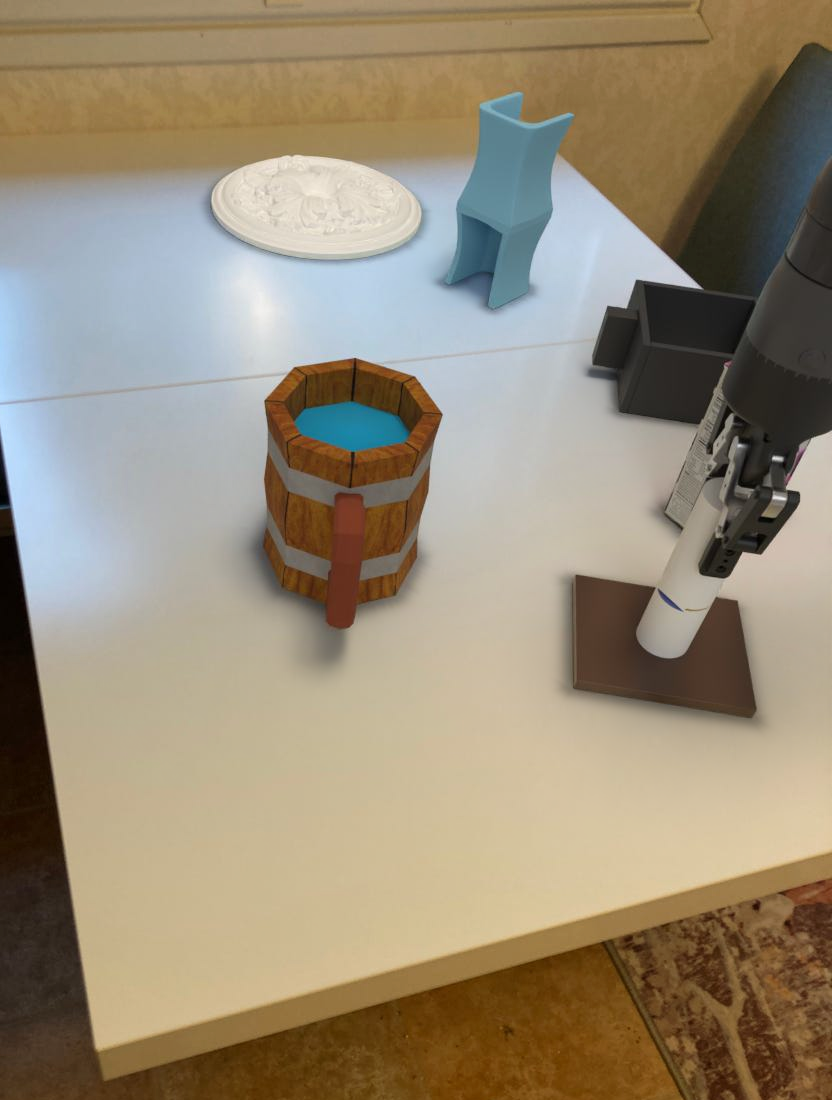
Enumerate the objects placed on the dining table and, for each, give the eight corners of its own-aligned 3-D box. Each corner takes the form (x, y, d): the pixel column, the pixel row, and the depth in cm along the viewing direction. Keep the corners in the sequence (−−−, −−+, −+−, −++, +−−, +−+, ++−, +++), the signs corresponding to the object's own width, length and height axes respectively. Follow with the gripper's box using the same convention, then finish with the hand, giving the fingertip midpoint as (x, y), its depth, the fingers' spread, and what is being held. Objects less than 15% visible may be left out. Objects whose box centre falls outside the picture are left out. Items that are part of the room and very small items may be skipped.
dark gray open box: (732, 362, 107) (760, 297, 101) (747, 431, 98) (780, 365, 92) (587, 340, 108) (607, 274, 102) (589, 407, 99) (611, 339, 93)
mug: (268, 496, 85) (270, 350, 74) (414, 506, 86) (439, 364, 75) (249, 660, 72) (248, 515, 61) (421, 671, 73) (452, 529, 62)
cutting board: (733, 608, 80) (738, 600, 80) (752, 718, 72) (757, 710, 72) (572, 582, 81) (575, 574, 80) (573, 688, 73) (576, 680, 72)
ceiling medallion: (273, 147, 136) (274, 124, 134) (450, 197, 130) (454, 174, 128) (170, 220, 119) (169, 195, 116) (369, 281, 113) (371, 256, 110)
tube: (688, 625, 77) (762, 484, 66) (688, 663, 74) (766, 523, 63) (636, 614, 78) (701, 472, 66) (635, 651, 75) (703, 509, 64)
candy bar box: (738, 478, 93) (812, 329, 80) (776, 508, 90) (859, 358, 78) (658, 512, 88) (723, 359, 76) (696, 544, 86) (770, 392, 73)
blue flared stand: (533, 289, 115) (575, 114, 100) (493, 309, 111) (530, 130, 96) (485, 264, 118) (518, 91, 103) (444, 282, 114) (473, 105, 99)
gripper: (904, 418, 51) (773, 625, 63) (850, 289, 60) (746, 492, 73) (765, 397, 51) (663, 608, 64) (734, 272, 60) (650, 477, 73)
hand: (708, 545), depth 68 cm, fingers open, 5 cm apart
